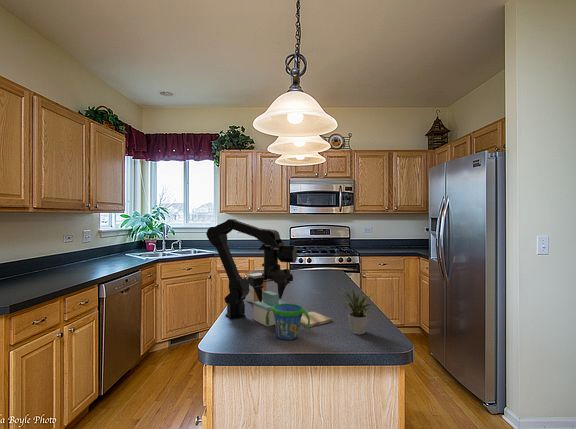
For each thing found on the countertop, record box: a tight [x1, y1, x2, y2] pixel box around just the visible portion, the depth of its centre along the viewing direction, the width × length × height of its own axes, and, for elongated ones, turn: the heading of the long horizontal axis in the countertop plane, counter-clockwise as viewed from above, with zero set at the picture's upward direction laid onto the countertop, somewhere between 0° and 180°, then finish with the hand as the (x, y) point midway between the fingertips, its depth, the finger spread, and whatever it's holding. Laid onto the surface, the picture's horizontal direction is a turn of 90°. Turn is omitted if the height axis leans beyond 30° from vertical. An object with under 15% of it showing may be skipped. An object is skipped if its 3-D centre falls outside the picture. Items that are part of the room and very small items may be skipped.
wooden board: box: [300, 311, 333, 328], centre depth 133 cm, size 13×12×1 cm
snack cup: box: [266, 303, 310, 341], centre depth 115 cm, size 16×10×10 cm
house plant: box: [340, 287, 376, 335], centre depth 120 cm, size 14×14×16 cm
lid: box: [252, 290, 289, 311], centre depth 132 cm, size 10×10×6 cm
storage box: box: [253, 305, 275, 327], centre depth 132 cm, size 10×10×6 cm
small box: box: [245, 272, 267, 304], centre depth 163 cm, size 8×6×13 cm
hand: (270, 300), depth 132 cm, fingers open, 9 cm apart
